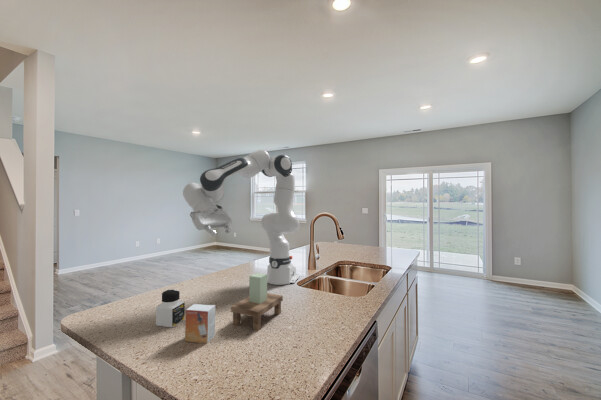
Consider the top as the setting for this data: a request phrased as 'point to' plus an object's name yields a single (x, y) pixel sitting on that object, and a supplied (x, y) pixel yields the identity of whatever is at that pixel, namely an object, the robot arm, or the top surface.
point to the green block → (258, 288)
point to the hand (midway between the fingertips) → (222, 233)
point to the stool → (256, 309)
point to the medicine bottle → (170, 309)
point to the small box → (200, 323)
